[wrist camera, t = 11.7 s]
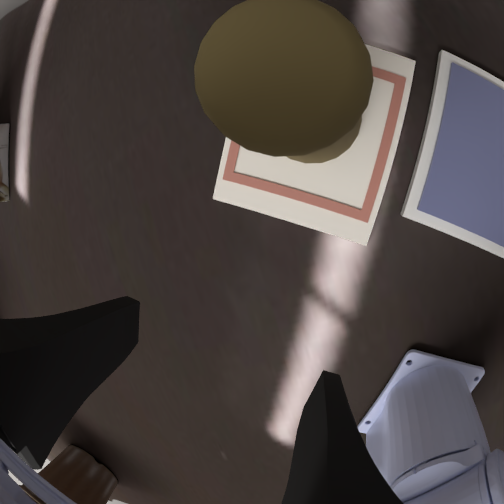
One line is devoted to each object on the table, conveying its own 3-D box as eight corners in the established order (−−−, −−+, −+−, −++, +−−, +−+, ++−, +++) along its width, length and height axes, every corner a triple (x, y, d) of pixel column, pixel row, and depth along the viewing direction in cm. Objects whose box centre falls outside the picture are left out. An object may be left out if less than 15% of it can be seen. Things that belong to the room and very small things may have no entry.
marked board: (365, 244, 18) (366, 246, 18) (215, 197, 20) (212, 199, 19) (413, 63, 14) (416, 60, 13) (257, 25, 16) (255, 22, 15)
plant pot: (142, 497, 42) (106, 553, 27) (91, 478, 48) (56, 522, 33) (96, 447, 39) (45, 508, 24) (50, 429, 44) (5, 474, 29)
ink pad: (506, 258, 16) (512, 263, 15) (400, 213, 17) (403, 217, 16) (542, 113, 12) (550, 112, 11) (438, 52, 13) (443, 48, 12)
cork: (249, 79, 17) (148, 8, 6) (347, 57, 15) (351, -51, 5) (272, 172, 18) (186, 198, 8) (371, 154, 16) (424, 154, 6)
